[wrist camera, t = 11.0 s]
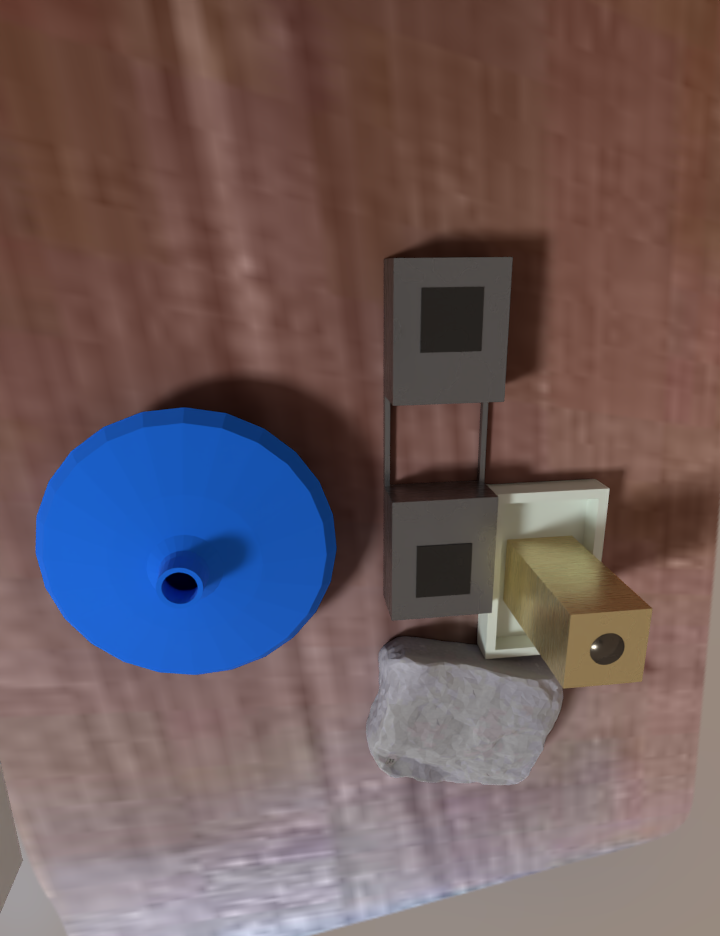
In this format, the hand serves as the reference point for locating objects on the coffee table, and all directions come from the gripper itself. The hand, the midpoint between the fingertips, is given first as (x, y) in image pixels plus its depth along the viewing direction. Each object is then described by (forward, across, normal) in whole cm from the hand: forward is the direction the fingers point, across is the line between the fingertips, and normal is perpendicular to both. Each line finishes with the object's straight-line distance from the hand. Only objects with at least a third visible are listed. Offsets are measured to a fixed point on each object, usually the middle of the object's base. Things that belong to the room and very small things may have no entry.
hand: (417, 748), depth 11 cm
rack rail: (+27, +7, -2) cm, 28 cm away
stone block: (+27, +8, -21) cm, 35 cm away
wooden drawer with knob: (+26, +13, -11) cm, 31 cm away
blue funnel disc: (+27, -7, -7) cm, 29 cm away
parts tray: (+27, +13, -11) cm, 32 cm away
